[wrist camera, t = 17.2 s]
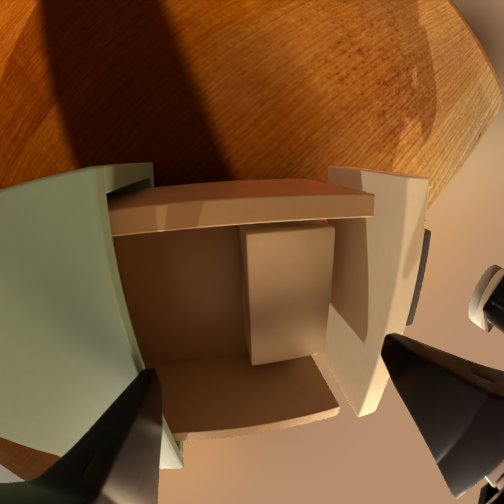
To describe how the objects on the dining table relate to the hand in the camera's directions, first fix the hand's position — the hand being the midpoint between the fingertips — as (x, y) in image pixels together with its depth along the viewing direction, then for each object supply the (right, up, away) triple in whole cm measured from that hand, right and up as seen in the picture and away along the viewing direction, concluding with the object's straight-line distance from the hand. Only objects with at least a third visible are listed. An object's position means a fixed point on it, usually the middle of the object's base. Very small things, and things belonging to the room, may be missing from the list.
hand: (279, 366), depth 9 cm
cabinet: (-13, +2, +6) cm, 15 cm away
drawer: (0, +3, +7) cm, 8 cm away
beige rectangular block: (+1, +2, +6) cm, 7 cm away
